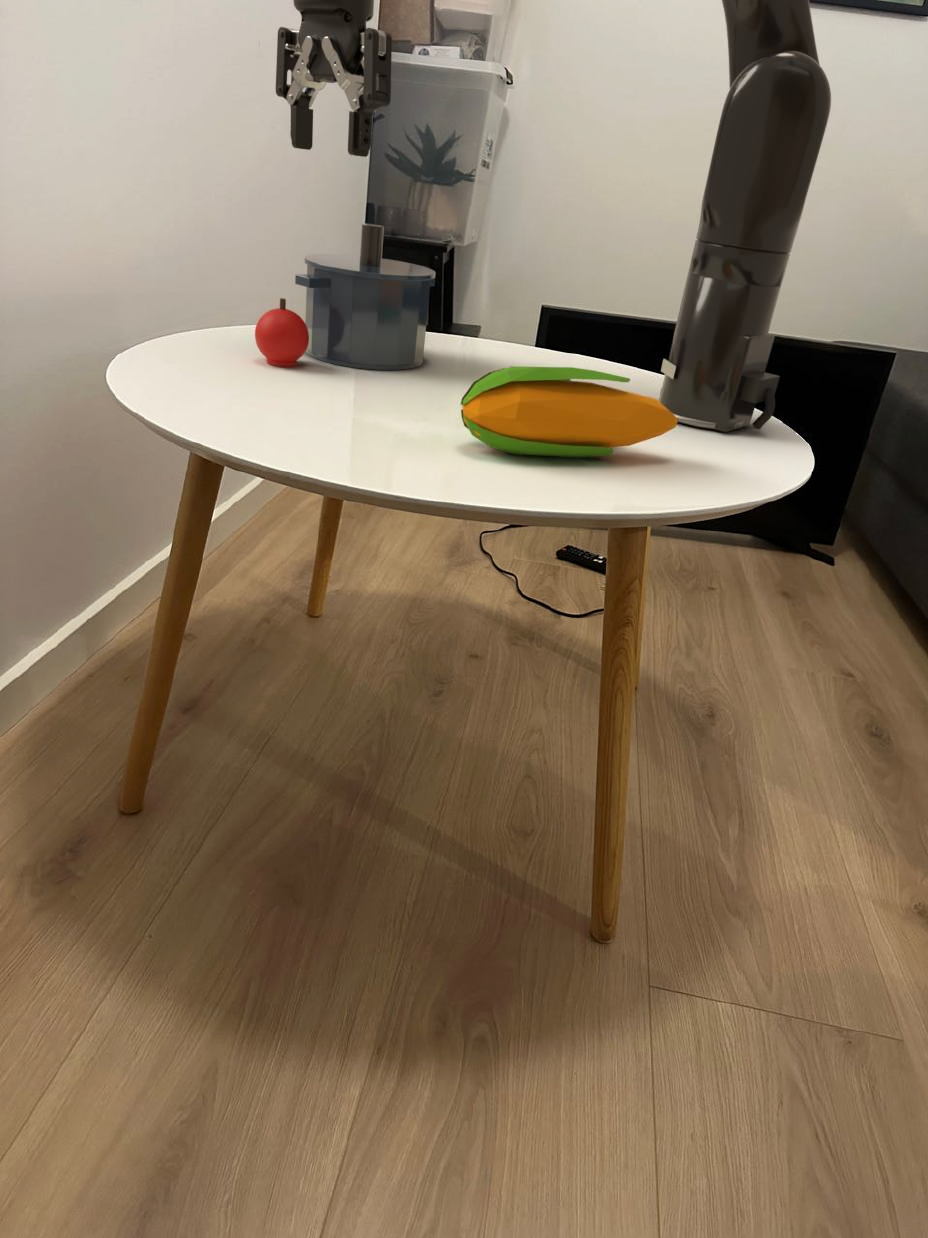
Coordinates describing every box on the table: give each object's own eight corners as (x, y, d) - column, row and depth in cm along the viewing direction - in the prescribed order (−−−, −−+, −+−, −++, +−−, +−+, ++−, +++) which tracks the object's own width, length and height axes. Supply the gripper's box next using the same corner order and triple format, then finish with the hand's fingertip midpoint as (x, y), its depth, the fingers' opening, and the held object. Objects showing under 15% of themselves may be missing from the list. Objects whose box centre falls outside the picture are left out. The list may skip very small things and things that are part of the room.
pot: (461, 362, 103) (471, 279, 98) (340, 376, 90) (345, 280, 85) (383, 338, 110) (389, 259, 106) (261, 347, 97) (262, 257, 93)
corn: (456, 345, 72) (668, 361, 77) (444, 432, 76) (647, 440, 81) (479, 374, 66) (707, 388, 71) (466, 466, 70) (682, 472, 75)
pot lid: (461, 285, 97) (466, 236, 94) (365, 287, 87) (368, 232, 84) (373, 263, 105) (376, 218, 102) (276, 263, 95) (277, 212, 92)
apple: (318, 367, 92) (321, 303, 89) (276, 371, 88) (277, 304, 85) (286, 355, 95) (287, 292, 92) (244, 358, 91) (243, 293, 88)
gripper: (418, -39, 78) (405, 161, 86) (315, -34, 86) (311, 149, 93) (358, -61, 73) (349, 155, 80) (254, -54, 80) (255, 142, 88)
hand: (329, 152), depth 87 cm, fingers open, 8 cm apart
